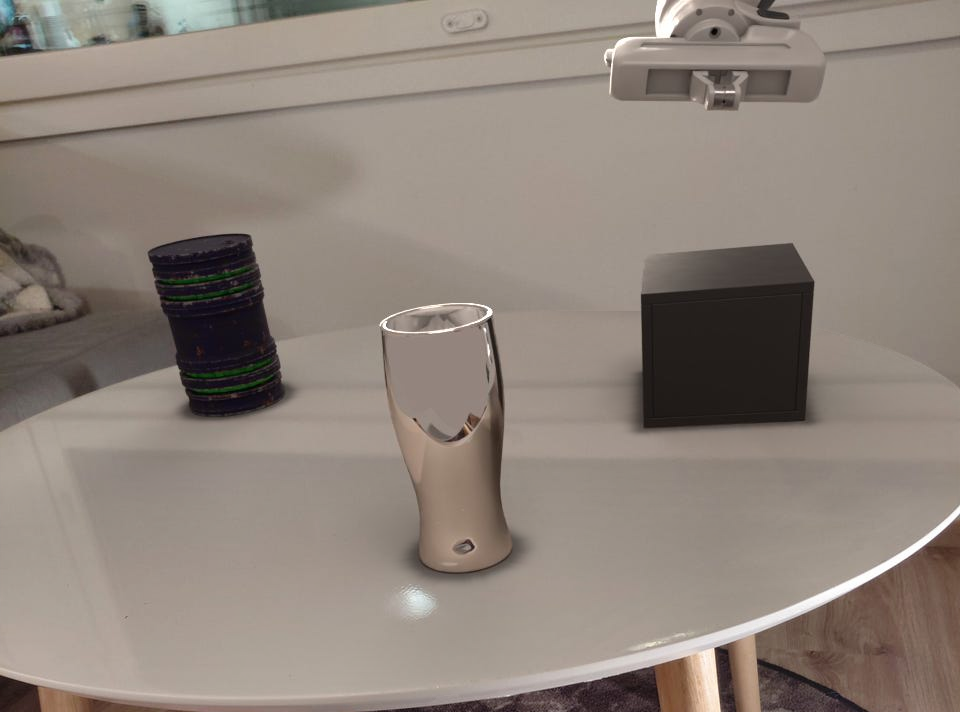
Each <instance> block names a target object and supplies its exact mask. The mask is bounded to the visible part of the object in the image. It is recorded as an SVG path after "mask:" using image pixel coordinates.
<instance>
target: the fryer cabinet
mask: <svg viewBox="0 0 960 712" xmlns="http://www.w3.org/2000/svg"><path fill="white" fill-rule="evenodd" d="M803 260H804V259H802V257H801V255H800V253H799V252H798V249H797V248H796V247H795V244H794V243H793V242H787V243H775V244H763V245H750V246H739V247H727V248H726V247H725V248H714V249H703V250H702V249H701V250H690V251H677V252H666V253H654V254H653V253H652V254H644V255H643V263H642V275H641V286H640V319H641V321H640V325H641V327H640V328H641V369H642V370H641V371H642V373H641V375H642V414H643V415H642V417H643V423H642V424H643V429H653V428H654V429H655V428H674V427H694V426H695V427H696V426H713V425H715V426H717V425H736V424H756V423H757V424H758V423H777V422H779V423H780V422H799V421H806V411H807V410H806V409H807V397H808V384H809V382H808V381H809V371H810V370H809V369H810V353H811V340H812V324H813V313H814V312H813V311H814V297H815V293H814V292H815V283H816V282H815V280H814V278H813V276H812V275H811V273H810V271H809V269H808V267H807V265H806V263H805V262H804V261H803Z"/></svg>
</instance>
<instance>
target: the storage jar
mask: <svg viewBox="0 0 960 712" xmlns="http://www.w3.org/2000/svg"><path fill="white" fill-rule="evenodd" d="M253 247H254V242H253V238H252V235H251V234H249V233H237V232H236V233H220V234H210V235H203V236H197V237H191V238H186V239H180V240H175V241H172V242H167V243H163V244H161V245H158V246H155V247H152V248H150V249H149V250H148V251H147V252H146V253H147V256H148V261H149V263H151V265H152V268H151V271H152V276H153V278H154V282H153V283H154V286H155V290H156V294H157V295H158V296H159V302H160V305H159V307H161V309H162V313H163V314H164V315H165V316H166V317H167V321H168V324H169V328H170V332H171V335H172V339H173V342H174V346H175V350H176V352H175V354H174V355H175V356H174V357H175V361H176V362H175V364H176V366H177V369H178V370H179V372H178V374H179V378H180V381H181V385H182V386H183V388H184V393H185V394H186V396H187V397H188V401H189V402H188V407H189V410H190V412H191V413H193V414H194V415H197V416H201V417H211V418H212V417H215V418H216V417H229V416H237V415H242V414H247V413H251V412H254V411H259V410H261V409H264V408H266V407H269V406H271V405H274V404H275V403H278V402H279V401H280V400H282V399H283V398H284V397H285V395H286V389H285V385H284V384H283V382H282V378H283V375H282V371H281V368H282V366H281V361H280V356H279V354H278V349H277V348H278V346H277V344H276V341H275V338H274V337H273V336H272V335H271V332H270V327H269V322H268V317H267V313H266V309H265V305H264V298H265V296H266V295H265V291H264V290H265V287H264V286H263V281H262V279H261V278H262V274H261V270H260V264H259V263H257V257H256V256H257V255H256V252H255V251H254V250H253Z"/></svg>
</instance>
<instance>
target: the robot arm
mask: <svg viewBox="0 0 960 712" xmlns="http://www.w3.org/2000/svg"><path fill="white" fill-rule="evenodd" d="M775 1H776V0H657V2H656V8H655V14H654V15H655V16H654V17H655V19H654V26H655V28H654V29H655V35H656V36H631V37H625V38H622V39H620V40H618V41H617V43H616V44H615V46H614V48H608V49H607V50H606V51H605V53H604V57H603V58H604V62H605V66H606V67H608V68H610V78H609V96H610V97H611V98H613V99H614V100H617V101H620V102H693V103H699V104H700V105H704V109H705V111H724V112H725V111H729V112H730V111H732V112H735V111H739V108H740V103H803V104H806V103H812V102H814V101H816V100H817V99H818V98H819V96H820V93H821V90H822V87H823V83H824V80H825V79H824V78H825V76H826V75H825V74H826V69H827V59H826V56H825V54H824V52H823V49H821V47H820V45H819V44H818V43H817V42H816V40H815V39H814V38H813V37H812V36H811V35H810V34H809V33H807V32H806V31H803V30H801V18H800V17H799V16H798V15H796V14H793V13H786V12H782V11H775V10H771V9H770V8H771V7H772V6H773V4H774V3H775ZM769 9H770V10H769Z"/></svg>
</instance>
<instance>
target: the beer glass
mask: <svg viewBox="0 0 960 712" xmlns="http://www.w3.org/2000/svg"><path fill="white" fill-rule="evenodd" d="M379 329H380V338H381V350H382V362H383V363H382V364H383V375H384V383H385V390H386V399H387V403H388V408H389V414H390V418H391V422H392V425H393V426H392V427H393V429H394V432H395V437H396V439H397V443H398V446H399V449H400V451H401V454H402V458H403V460H404V463H405V466H406V469H407V471H408V474H409V477H410V480H411V483H412V488H413V490H414V493H415V498H416V501H417V507H418V515H419V537H418V539H419V542H418V553H419V558H420V560H421V562H422V563H423V564H424V565H425V566H427V567H428V568H430V569H432V570H435V571H438V572H444V573H456V574H458V573H469V572H470V573H471V572H476V571H480V570H484V569H487V568H490V567H492V566H495V565H497V564H498V563H501V562H502V561H503V560H504V559H506V557H508V556H509V554H510V553H511V551H512V549H513V548H512V547H513V541H512V536H511V533H510V529H509V526H508V523H507V520H506V517H505V513H504V508H503V502H502V493H501V490H502V489H501V476H502V461H503V450H504V435H505V414H506V413H505V411H506V409H505V408H506V405H505V404H506V403H505V402H506V401H505V387H504V377H503V369H502V361H501V355H500V350H499V344H498V337H497V332H496V327H495V321H494V311H493V310H492V308H490V307H489V306H486V305H482V304H477V303H463V302H462V303H458V302H457V303H442V304H433V305H426V306H420V307H415V308H410V309H407V310H404V311H401V312H397V313H395V314H392V315H390V316H388V317H387V318H385V319H383V320H382V321H381V322H380V324H379Z"/></svg>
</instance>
